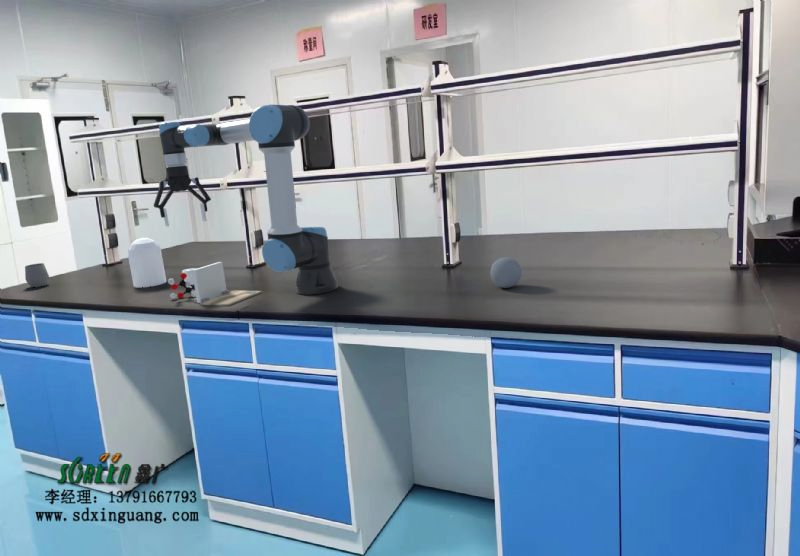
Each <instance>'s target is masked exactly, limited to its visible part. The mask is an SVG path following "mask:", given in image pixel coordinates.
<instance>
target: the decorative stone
mask: <svg viewBox="0 0 800 556" xmlns="http://www.w3.org/2000/svg"><path fill="white" fill-rule="evenodd" d="M489 271H490V278H491V280H492V282H493V283H494V285H496V286H497V287H500V288H504V289H509V288H512V287H514V286H515V285H517V284H518V283H519V281H520V280H521V277H522V267H521V265H520V264H519V263H518V261H517V260H515V259H514V258H511V257H507V256H504V257H501V258H498V259H496V260H495V261H494V262H493V263H492V265H491V267H490V270H489Z"/></svg>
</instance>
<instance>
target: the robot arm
mask: <svg viewBox="0 0 800 556" xmlns="http://www.w3.org/2000/svg"><path fill="white" fill-rule="evenodd" d="M310 122H311V121H310V118H309V116H308V114H307V112H306V111H305V110H304V109H303V108H301V107H300V106H297V105H294V104H265V105H260V106H258V107H257V108H255V109H254V111H253V112H252V113H251V116H250V117H249V119H248V118H247V119H243V120H237V121H232V122H223V123H218V124H199V123H197V124H196V123H195V124H190V125H185V126H184V125H183V126H181V123H180V122H178V121H169V122H168V121H167V122H161V123H160V124H159V125H158V130H159V138H160V143H161V148H162V153H163V154H162V155H163V159H164V165H165V167H166V168H165V171H166V172H165V173H166V176H167V177H166V178H167V180H166V181H165V180H164V181H163V180H159V182H158V190H157V193H156V197H155V199H154V203H153V207H154V208H156V209H159V212H160V217H161V219H164V220H163V221H164V225H165V227H170V223H169V219H168V213H167V212H168V211H167V208H166V207H165V206H166V204H167V203H168V202H169V200H170V198H171V197H172V195H173V194H174V192H176V193H177V192H185V191H186V192H187V191H188V192H190V193H191V195H193V196H194V197H195V198H196V199H197V200H199V202H201V203H200V204H199V205H200V206H199V207H200V213H201V219H202V221H203V222H207V216H206V212H208V206H207V204H208V202H210V201H212V198H211V196H210V195H209V194H208V193H207V191H206V190H205V188H204V187H203V185H202V183H200V180H199V177H198V176H194V177H192V178H190V174H189V169H188V165H187V164H188V163H187V158H186V150H185V149H187V148H199V147H211V146H212V147H213V146H227V145H231V144H238V143H244V142H253V141H255V142H256V143H257V144H258V145H257V146H258V150H259V151H260V152H261V153H263V157H264V164H265V165H264V167H265V174H266V177H265V179H266V186H267V196H268V205H269V215H270V217H269V218H270V224H271V225H270V228H269V229H268V230H267V232H266V233H267V240H266V241H265V242H264V244H263V246H262V247H261V254H262V257H263V260H264V263H265V264H266V265H267V266H268V267H269V268H270V269H271V270H273V271H275V272H277V273H285V272H290V271H293V270H294V269H298V270H297V271H298V272H297V276H296V277H297V278H296V282H295V293H297V294H298V295H303V296H305V295H320V294H325V293H329V292H332V291H333V292H334V291H335V290H337V289H338V288H339V284H338V280H337V278H336V276H335V275H336V274H335V273H334V272H333V269H332V266H331V259H330V249H329V240H328V238H329V237H328V233H327V230H326V228H325V227H324V226H304V227H303V226H300V225H298V218H297V207H296V205H297V204H296V196H295V185H294V175H293V173H294V172H293V163H292V151H293V150H294V149H295V147H296V143H295V141H299V140H301V139H303V138H304V137H305V136H306V135H308V132H309V130H310V126H311V125H310V124H311V123H310ZM191 183H193V184H194V185H195V186H196V187H197V189H198V190H199V192H200V193H201V195H202V196H201V195H200V194H199V193H198V192H197V191H196V190H195V189H193V187H191ZM167 186H168V187H170V188H169V189H168V192H167V193H166V194H165V196H164V198H163V199H162V196H163V193H164V189H165V188H166V187H167Z"/></svg>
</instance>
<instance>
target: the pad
mask: <svg viewBox="0 0 800 556" xmlns="http://www.w3.org/2000/svg"><path fill="white" fill-rule="evenodd" d="M262 292H263V291H262V290H241V289H239V290H237V289H236V290H235V289H234V290H231V291H230V292H228V293H226V294H223V295H220V296H218V297H215V298H212V299H210V300H207V301H204V302H202V303H199V304H200V306H217V307H218V306H223V307H230V306H233V305H236V304H237V303H239V302H242V301H244V300H247V299H249V298H251V297H255V296H257V295H259V294H260V295H261V294H262Z"/></svg>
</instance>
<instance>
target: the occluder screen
mask: <svg viewBox="0 0 800 556" xmlns="http://www.w3.org/2000/svg"><path fill="white" fill-rule="evenodd" d="M197 268H198V269H194V270H192V274H193V280H194V286H195V292H196V297H195V298H194V299H193V302H194V303H197V304H200V303H202V302H204V301H207V300H210V299H212V298H215V297H218V296H220V295H223V294H226V293H228V292H231V291H230V290H228V289H227V285H226V284H227V283H226V278H225V270H224V265H223V261H217V262H214V263H211V264H208V265H205V266H202V267H197Z"/></svg>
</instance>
